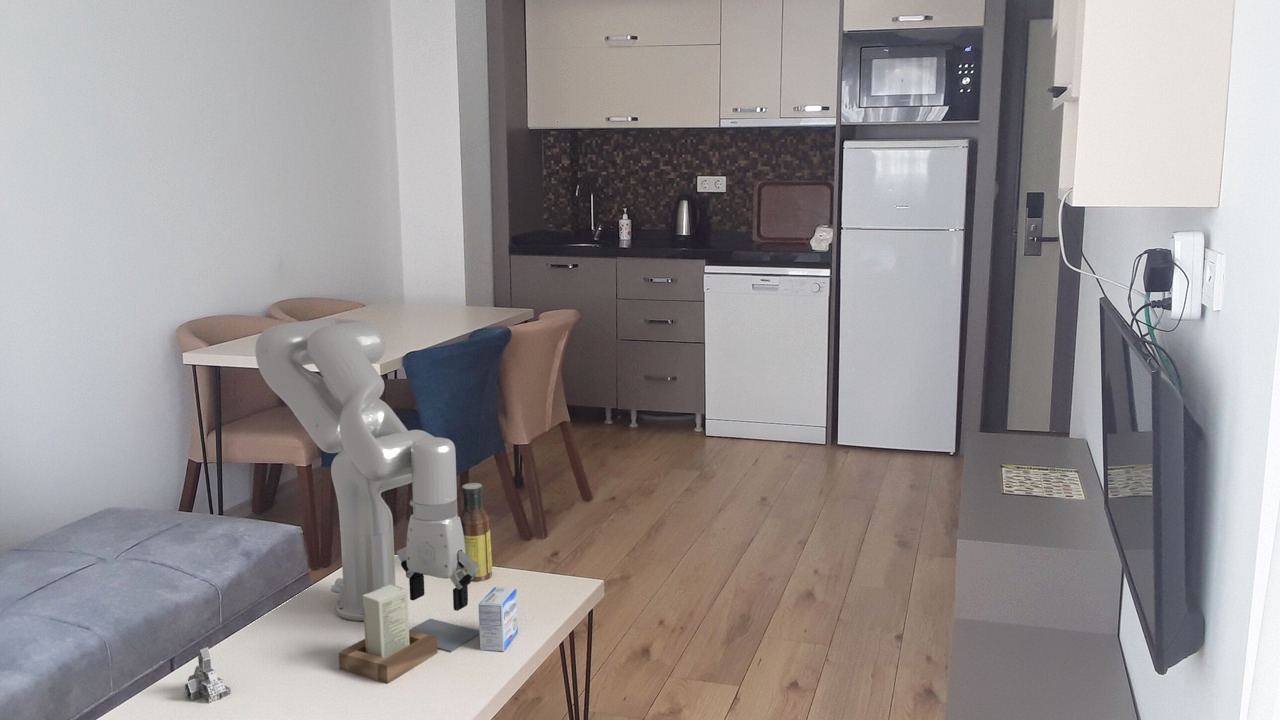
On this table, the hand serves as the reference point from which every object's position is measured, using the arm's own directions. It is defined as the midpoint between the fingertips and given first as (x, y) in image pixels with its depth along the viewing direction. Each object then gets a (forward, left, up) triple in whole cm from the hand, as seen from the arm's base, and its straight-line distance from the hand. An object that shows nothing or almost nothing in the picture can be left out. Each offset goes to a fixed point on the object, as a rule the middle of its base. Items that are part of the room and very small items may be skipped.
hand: (438, 602), depth 185 cm
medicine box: (+11, +3, -6) cm, 13 cm away
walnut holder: (-1, -12, -6) cm, 14 cm away
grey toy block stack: (-20, -36, -7) cm, 42 cm away
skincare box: (-1, -12, -6) cm, 13 cm away
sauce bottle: (-11, +25, -6) cm, 28 cm away
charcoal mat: (0, 0, -6) cm, 6 cm away
